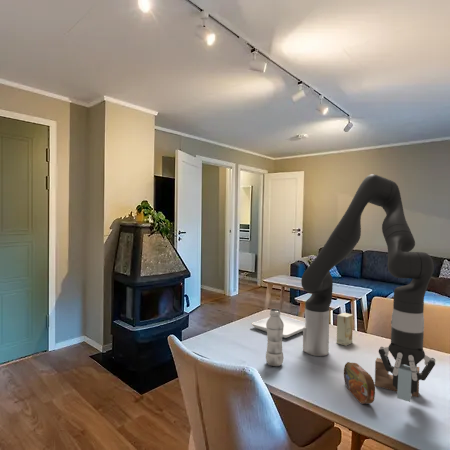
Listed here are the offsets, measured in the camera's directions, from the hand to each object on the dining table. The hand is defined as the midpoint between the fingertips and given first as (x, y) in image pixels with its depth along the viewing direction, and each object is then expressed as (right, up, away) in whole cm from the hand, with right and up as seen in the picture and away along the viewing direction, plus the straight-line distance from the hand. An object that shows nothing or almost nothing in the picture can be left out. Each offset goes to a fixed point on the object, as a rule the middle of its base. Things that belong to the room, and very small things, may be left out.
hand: (404, 389), depth 88 cm
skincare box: (+3, -7, +53) cm, 54 cm away
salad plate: (-21, -6, +69) cm, 72 cm away
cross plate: (+3, -2, +4) cm, 5 cm away
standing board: (+6, -7, +15) cm, 18 cm away
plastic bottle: (-30, -7, +32) cm, 44 cm away
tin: (-8, -8, +12) cm, 16 cm away
